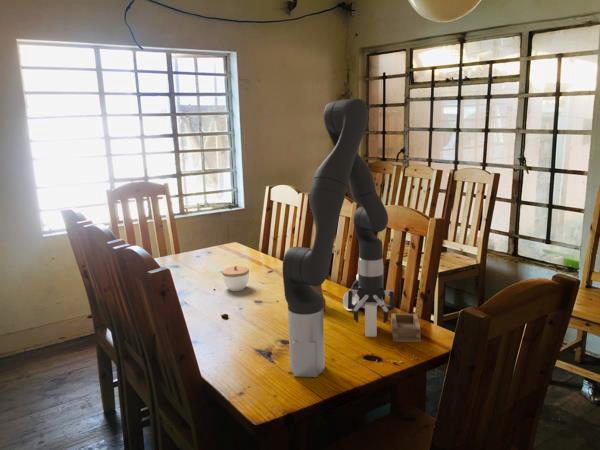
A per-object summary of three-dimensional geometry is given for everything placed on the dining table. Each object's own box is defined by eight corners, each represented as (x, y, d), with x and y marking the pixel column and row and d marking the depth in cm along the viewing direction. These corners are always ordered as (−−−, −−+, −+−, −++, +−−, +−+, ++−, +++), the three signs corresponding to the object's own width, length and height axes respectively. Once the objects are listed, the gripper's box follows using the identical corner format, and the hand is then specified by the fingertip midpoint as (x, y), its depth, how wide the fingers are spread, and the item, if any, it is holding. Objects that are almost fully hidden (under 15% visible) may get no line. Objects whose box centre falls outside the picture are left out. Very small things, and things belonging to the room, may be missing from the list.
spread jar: (383, 305, 172) (383, 274, 170) (371, 316, 163) (371, 283, 160) (352, 300, 178) (352, 269, 176) (339, 310, 169) (338, 278, 166)
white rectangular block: (376, 336, 148) (376, 305, 146) (365, 336, 148) (365, 305, 146) (376, 325, 155) (376, 296, 153) (365, 325, 156) (365, 296, 154)
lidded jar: (253, 290, 192) (252, 267, 190) (226, 294, 188) (225, 271, 186) (246, 282, 202) (244, 261, 200) (220, 286, 198) (219, 264, 196)
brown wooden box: (420, 342, 143) (421, 329, 142) (393, 341, 144) (393, 328, 143) (416, 325, 155) (416, 313, 154) (391, 324, 156) (391, 313, 155)
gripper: (346, 275, 145) (347, 326, 149) (395, 275, 143) (394, 327, 147) (347, 267, 152) (348, 316, 156) (393, 268, 150) (393, 317, 154)
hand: (370, 321), depth 151 cm, fingers open, 8 cm apart
